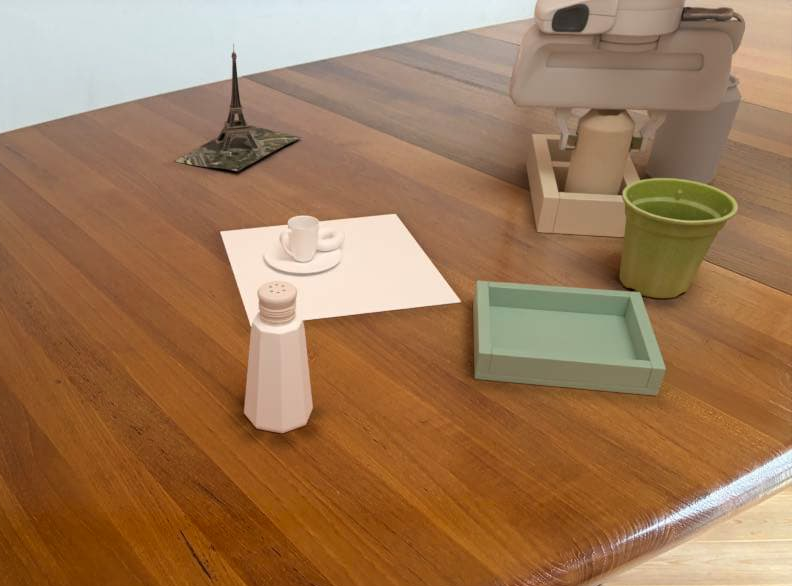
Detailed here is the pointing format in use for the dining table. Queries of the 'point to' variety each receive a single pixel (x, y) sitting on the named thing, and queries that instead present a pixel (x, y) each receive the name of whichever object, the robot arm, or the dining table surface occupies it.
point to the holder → (571, 194)
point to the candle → (600, 152)
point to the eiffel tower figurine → (237, 139)
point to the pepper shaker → (278, 363)
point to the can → (693, 141)
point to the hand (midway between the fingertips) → (600, 149)
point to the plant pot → (669, 233)
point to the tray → (565, 338)
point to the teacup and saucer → (337, 266)
